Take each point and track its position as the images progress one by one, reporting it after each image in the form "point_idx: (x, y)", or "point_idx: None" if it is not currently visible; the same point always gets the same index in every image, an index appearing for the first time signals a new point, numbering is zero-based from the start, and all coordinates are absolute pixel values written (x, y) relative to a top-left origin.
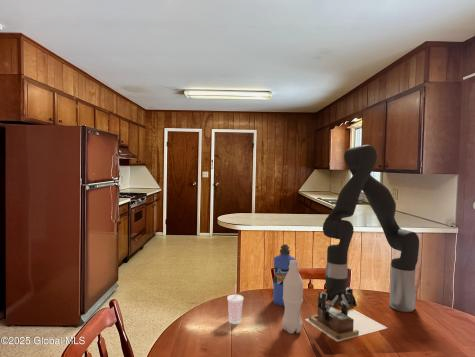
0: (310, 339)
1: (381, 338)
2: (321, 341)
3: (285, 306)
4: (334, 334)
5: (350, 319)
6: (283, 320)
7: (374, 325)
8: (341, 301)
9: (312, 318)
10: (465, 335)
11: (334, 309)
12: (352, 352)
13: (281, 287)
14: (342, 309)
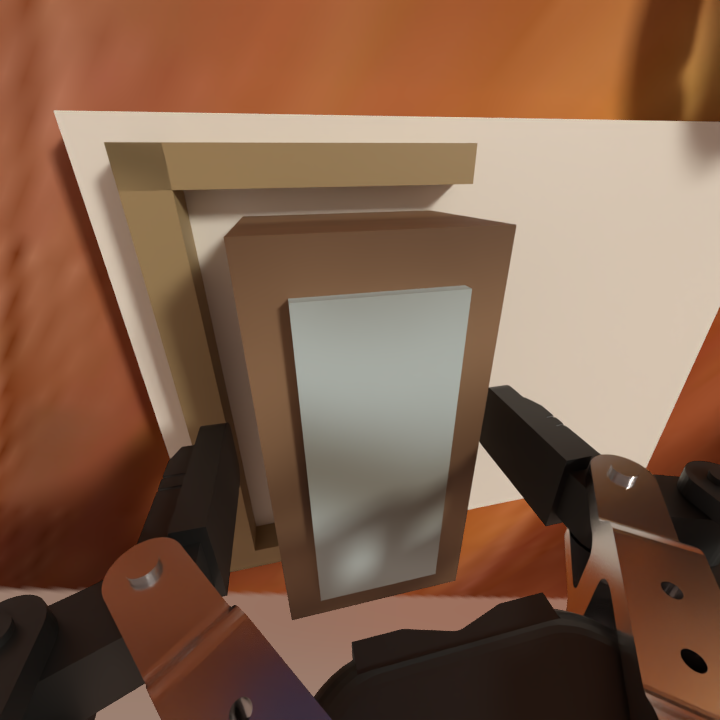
0: (13, 456)
1: (524, 509)
2: (113, 492)
3: None
4: None
5: (426, 582)
6: None
7: (615, 438)
8: (588, 586)
9: (134, 231)
10: None
11: (451, 394)
12: (262, 593)
13: None
14: (528, 444)
